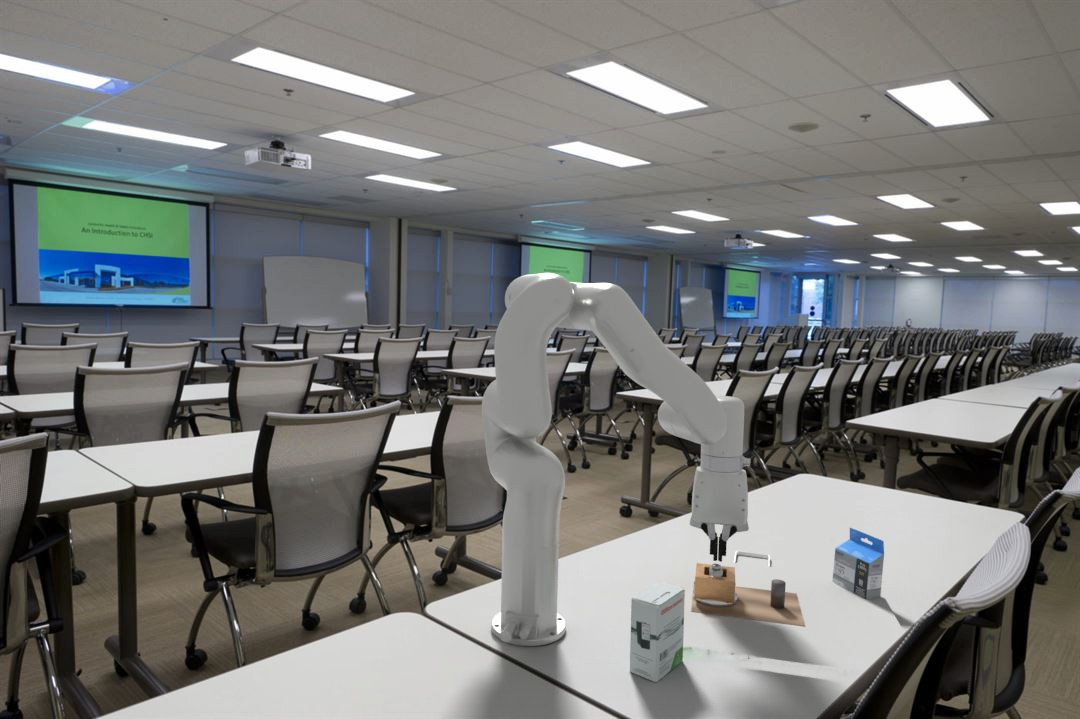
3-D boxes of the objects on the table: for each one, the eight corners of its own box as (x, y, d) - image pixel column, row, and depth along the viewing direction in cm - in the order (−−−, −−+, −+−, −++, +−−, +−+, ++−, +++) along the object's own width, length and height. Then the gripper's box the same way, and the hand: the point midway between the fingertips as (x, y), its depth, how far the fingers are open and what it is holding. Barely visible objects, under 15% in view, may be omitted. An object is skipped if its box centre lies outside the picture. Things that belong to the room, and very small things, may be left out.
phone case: (735, 556, 158) (731, 580, 144) (735, 550, 158) (731, 574, 144) (769, 560, 156) (769, 586, 141) (770, 554, 155) (769, 579, 141)
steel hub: (737, 610, 125) (739, 575, 125) (691, 604, 127) (693, 570, 127) (736, 592, 133) (738, 560, 132) (693, 587, 135) (694, 555, 134)
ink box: (656, 650, 113) (659, 579, 112) (684, 661, 110) (687, 587, 109) (627, 672, 106) (630, 596, 105) (655, 684, 103) (658, 605, 102)
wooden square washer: (734, 603, 126) (735, 581, 125) (694, 598, 127) (695, 576, 127) (733, 588, 132) (734, 567, 132) (695, 583, 134) (696, 563, 134)
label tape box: (830, 588, 140) (834, 528, 139) (846, 586, 141) (850, 526, 140) (865, 607, 131) (869, 543, 130) (882, 604, 133) (886, 541, 132)
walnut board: (804, 634, 120) (806, 600, 119) (690, 619, 124) (692, 586, 124) (796, 601, 133) (797, 570, 133) (693, 588, 138) (695, 558, 137)
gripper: (762, 461, 132) (758, 555, 134) (681, 455, 136) (678, 548, 138) (764, 470, 125) (760, 570, 127) (679, 464, 129) (676, 561, 130)
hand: (717, 558), depth 132 cm, fingers closed
